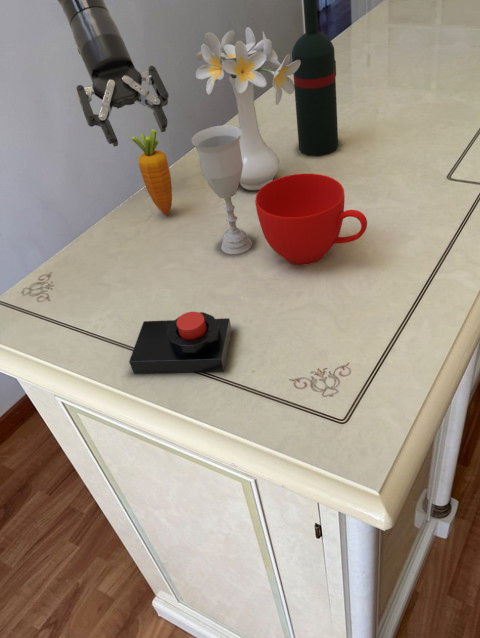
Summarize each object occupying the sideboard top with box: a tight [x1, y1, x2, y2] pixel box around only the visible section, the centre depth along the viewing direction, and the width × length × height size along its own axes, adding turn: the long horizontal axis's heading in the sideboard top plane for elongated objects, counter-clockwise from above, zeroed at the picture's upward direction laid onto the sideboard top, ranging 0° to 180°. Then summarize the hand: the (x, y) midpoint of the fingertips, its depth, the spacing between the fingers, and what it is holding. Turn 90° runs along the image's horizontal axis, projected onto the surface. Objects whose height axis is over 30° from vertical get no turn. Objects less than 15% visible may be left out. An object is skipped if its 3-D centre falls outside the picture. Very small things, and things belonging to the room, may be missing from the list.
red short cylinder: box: [176, 311, 207, 340], centre depth 75 cm, size 4×4×2 cm
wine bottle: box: [291, 0, 339, 157], centre depth 108 cm, size 8×10×30 cm
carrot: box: [131, 128, 173, 216], centre depth 100 cm, size 5×5×15 cm
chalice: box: [191, 124, 253, 255], centre depth 89 cm, size 7×7×18 cm
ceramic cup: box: [254, 173, 368, 266], centre depth 87 cm, size 13×17×10 cm
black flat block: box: [128, 311, 233, 374], centre depth 77 cm, size 12×8×4 cm, turn 86°
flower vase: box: [195, 26, 301, 191], centre depth 101 cm, size 13×18×25 cm
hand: (140, 136), depth 99 cm, fingers open, 8 cm apart
